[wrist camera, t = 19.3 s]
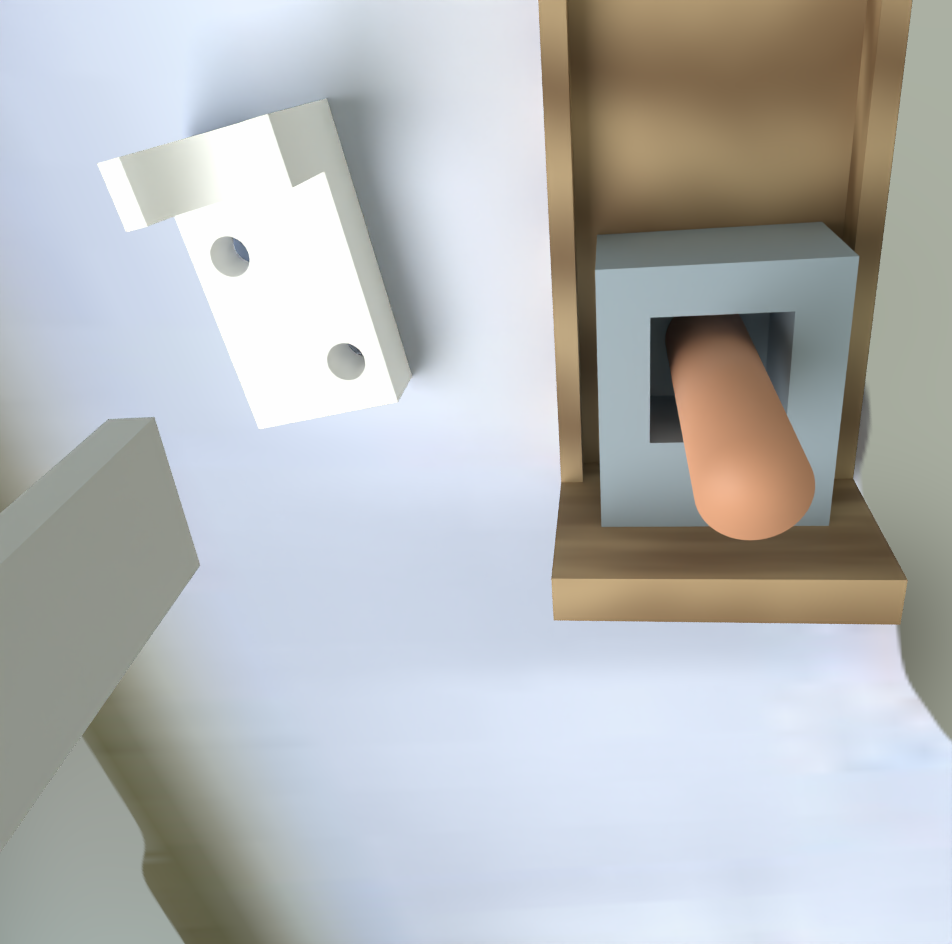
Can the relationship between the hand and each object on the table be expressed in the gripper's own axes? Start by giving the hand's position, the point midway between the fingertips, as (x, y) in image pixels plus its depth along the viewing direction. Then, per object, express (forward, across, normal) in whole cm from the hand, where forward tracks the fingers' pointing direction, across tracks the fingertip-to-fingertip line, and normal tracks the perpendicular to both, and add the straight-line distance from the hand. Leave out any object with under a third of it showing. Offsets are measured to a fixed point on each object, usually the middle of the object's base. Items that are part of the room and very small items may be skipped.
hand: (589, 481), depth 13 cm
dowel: (+25, +4, -7) cm, 27 cm away
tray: (+28, +5, -3) cm, 28 cm away
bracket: (+28, -14, -4) cm, 32 cm away
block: (+26, +5, -8) cm, 28 cm away
